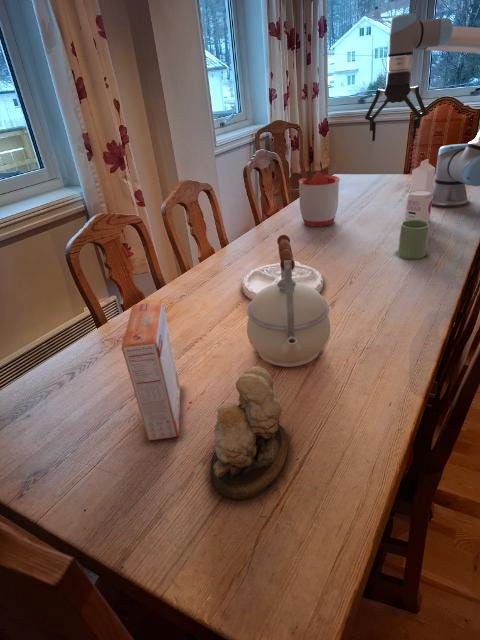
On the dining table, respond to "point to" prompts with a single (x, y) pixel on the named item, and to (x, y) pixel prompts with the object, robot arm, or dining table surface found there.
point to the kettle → (288, 317)
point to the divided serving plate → (272, 275)
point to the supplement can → (418, 205)
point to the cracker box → (153, 370)
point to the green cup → (413, 239)
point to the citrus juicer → (319, 199)
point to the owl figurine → (249, 439)
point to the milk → (423, 177)
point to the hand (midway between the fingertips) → (393, 139)
